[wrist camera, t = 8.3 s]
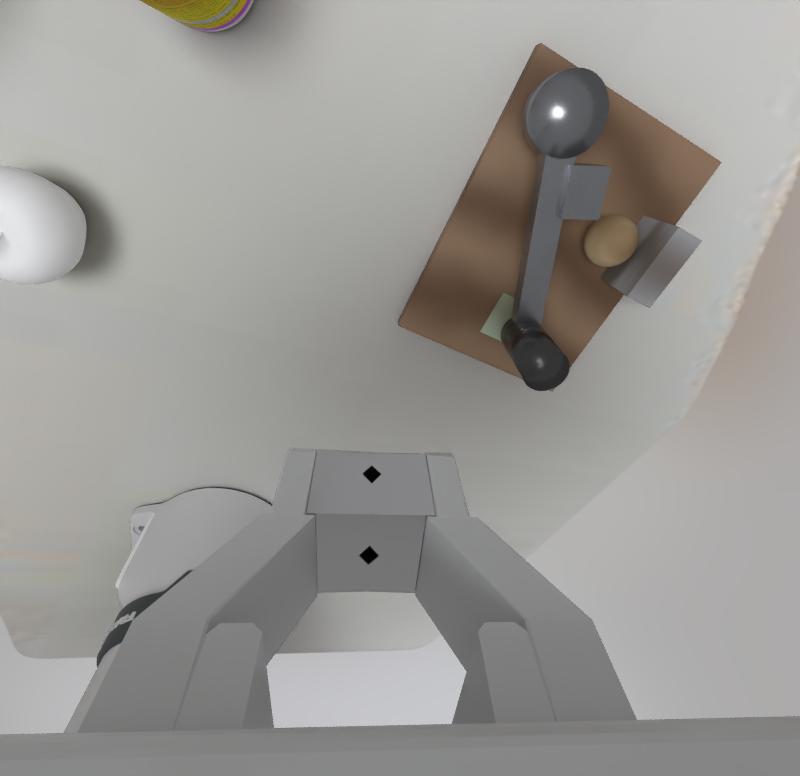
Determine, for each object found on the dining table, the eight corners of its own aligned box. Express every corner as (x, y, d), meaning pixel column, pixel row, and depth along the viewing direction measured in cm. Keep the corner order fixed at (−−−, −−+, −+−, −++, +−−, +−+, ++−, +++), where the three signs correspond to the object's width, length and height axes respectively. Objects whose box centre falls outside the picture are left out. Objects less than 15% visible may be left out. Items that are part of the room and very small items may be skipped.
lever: (552, 348, 35) (586, 391, 29) (487, 348, 35) (508, 390, 29) (615, 73, 26) (680, 59, 20) (527, 69, 26) (569, 54, 20)
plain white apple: (4, 249, 32) (-97, 281, 26) (-3, 144, 29) (-122, 149, 22) (107, 280, 34) (38, 319, 27) (111, 184, 31) (34, 200, 24)
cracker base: (548, 385, 40) (570, 419, 36) (398, 320, 37) (400, 349, 32) (712, 161, 31) (770, 167, 27) (535, 45, 28) (567, 29, 23)
